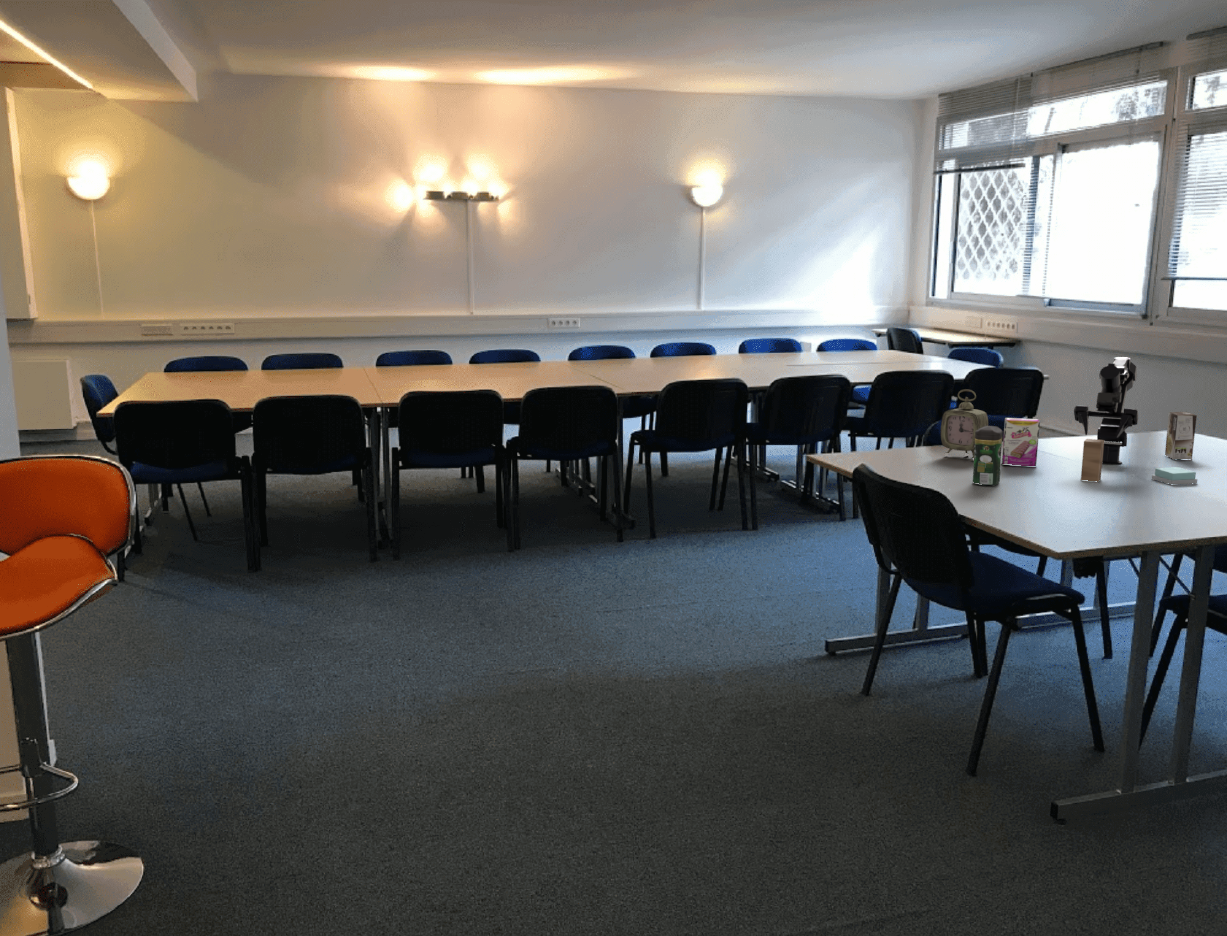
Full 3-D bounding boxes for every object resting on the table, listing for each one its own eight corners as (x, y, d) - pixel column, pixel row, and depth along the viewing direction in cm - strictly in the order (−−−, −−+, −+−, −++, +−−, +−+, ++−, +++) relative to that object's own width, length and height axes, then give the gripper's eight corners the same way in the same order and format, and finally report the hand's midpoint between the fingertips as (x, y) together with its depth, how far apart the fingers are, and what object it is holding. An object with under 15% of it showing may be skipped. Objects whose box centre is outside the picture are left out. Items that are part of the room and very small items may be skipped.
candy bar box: (1001, 466, 339) (1004, 419, 335) (1001, 463, 343) (1004, 417, 340) (1036, 468, 335) (1040, 420, 332) (1035, 465, 340) (1039, 418, 336)
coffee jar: (976, 479, 319) (979, 423, 315) (1001, 482, 315) (1005, 425, 311) (969, 485, 311) (972, 428, 307) (995, 488, 307) (999, 429, 303)
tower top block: (1154, 475, 314) (1155, 468, 314) (1177, 473, 315) (1177, 467, 315) (1172, 480, 306) (1172, 473, 306) (1195, 479, 308) (1196, 472, 307)
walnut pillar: (1084, 477, 319) (1087, 438, 316) (1100, 479, 316) (1104, 440, 313) (1080, 480, 315) (1083, 441, 312) (1097, 482, 312) (1101, 442, 309)
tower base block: (1151, 481, 315) (1151, 474, 315) (1176, 479, 316) (1177, 473, 316) (1171, 487, 306) (1171, 480, 306) (1196, 486, 308) (1197, 479, 307)
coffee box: (1192, 460, 342) (1197, 415, 339) (1172, 460, 343) (1177, 415, 340) (1183, 455, 351) (1188, 411, 348) (1163, 455, 352) (1168, 411, 349)
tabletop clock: (939, 457, 357) (942, 389, 351) (951, 453, 362) (955, 386, 357) (976, 462, 346) (980, 392, 341) (988, 458, 352) (993, 389, 347)
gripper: (1077, 381, 324) (1068, 419, 318) (1140, 384, 314) (1132, 423, 307) (1079, 401, 332) (1071, 438, 326) (1141, 405, 322) (1133, 443, 315)
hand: (1101, 435), depth 318 cm, fingers open, 9 cm apart
